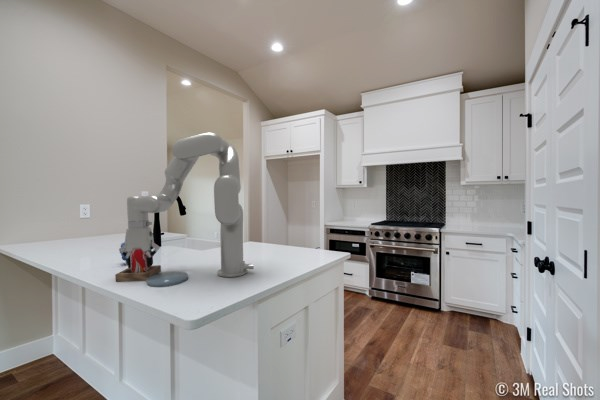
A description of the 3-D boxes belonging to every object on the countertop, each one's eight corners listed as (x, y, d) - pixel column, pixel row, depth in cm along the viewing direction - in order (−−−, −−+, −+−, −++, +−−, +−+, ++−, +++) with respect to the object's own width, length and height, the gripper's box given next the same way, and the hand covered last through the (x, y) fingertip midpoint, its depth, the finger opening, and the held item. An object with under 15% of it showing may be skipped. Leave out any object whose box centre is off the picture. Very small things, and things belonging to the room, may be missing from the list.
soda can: (141, 278, 112) (140, 249, 111) (126, 277, 113) (125, 248, 113) (154, 273, 119) (152, 245, 118) (140, 272, 120) (138, 245, 120)
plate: (192, 274, 118) (192, 270, 118) (180, 286, 103) (180, 282, 103) (157, 275, 117) (157, 272, 117) (139, 287, 102) (139, 283, 102)
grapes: (112, 265, 134) (111, 241, 134) (125, 262, 141) (124, 239, 140) (129, 267, 130) (129, 242, 130) (142, 264, 137) (141, 240, 136)
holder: (160, 271, 122) (160, 265, 122) (147, 280, 110) (147, 273, 110) (132, 272, 121) (132, 266, 121) (115, 281, 109) (115, 274, 109)
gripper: (163, 223, 120) (165, 263, 120) (122, 224, 118) (124, 265, 119) (155, 225, 112) (157, 268, 113) (111, 226, 111) (113, 270, 111)
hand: (140, 266), depth 116 cm, fingers closed on soda can, 7 cm apart
